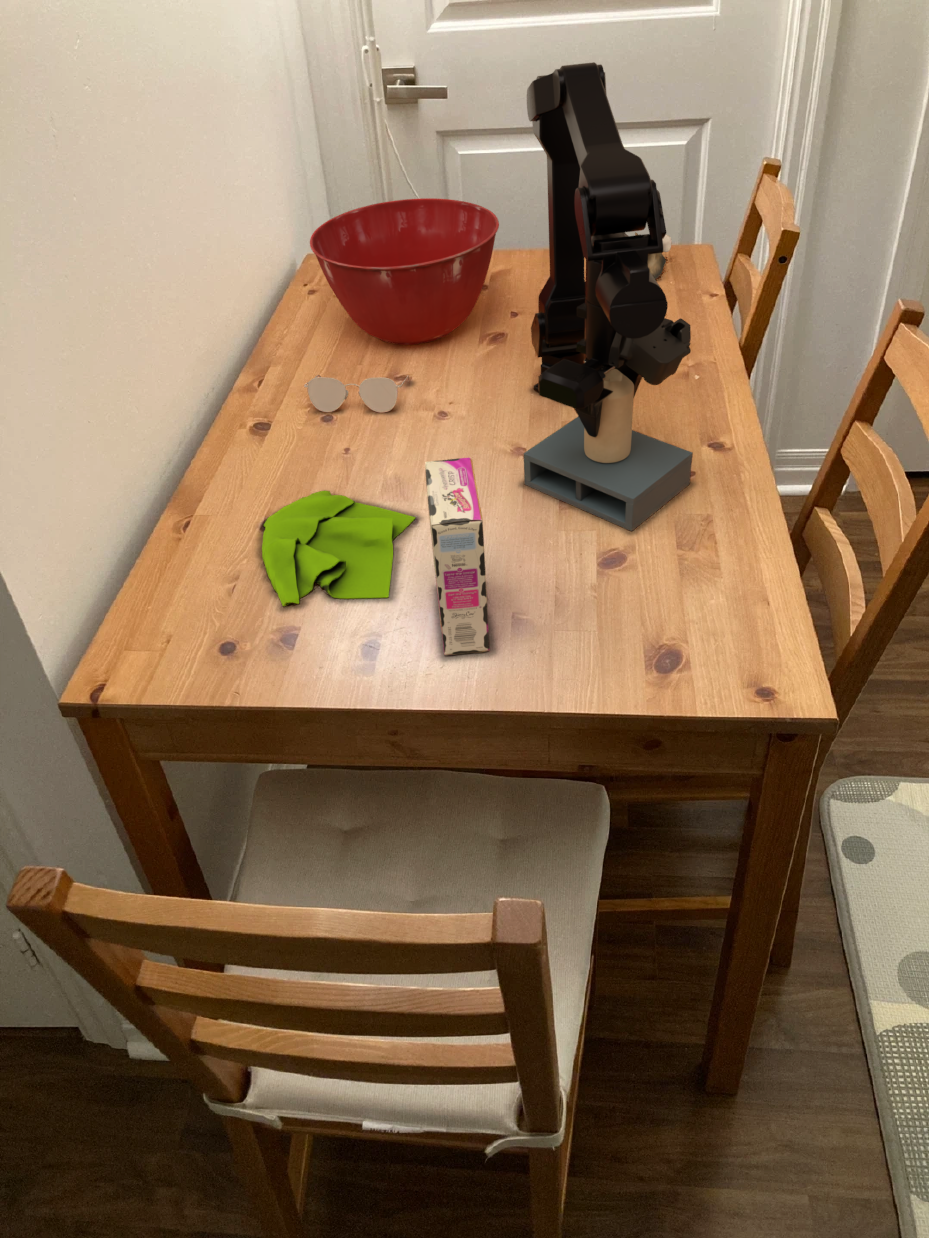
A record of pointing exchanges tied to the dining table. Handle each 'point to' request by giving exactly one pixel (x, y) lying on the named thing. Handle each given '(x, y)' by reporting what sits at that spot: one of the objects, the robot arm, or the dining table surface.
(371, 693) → the dining table surface
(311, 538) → the cloth
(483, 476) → the dining table surface
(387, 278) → the mixing bowl
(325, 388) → the sunglasses
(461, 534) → the candy bar box
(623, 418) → the candle
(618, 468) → the shelf
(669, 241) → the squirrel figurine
